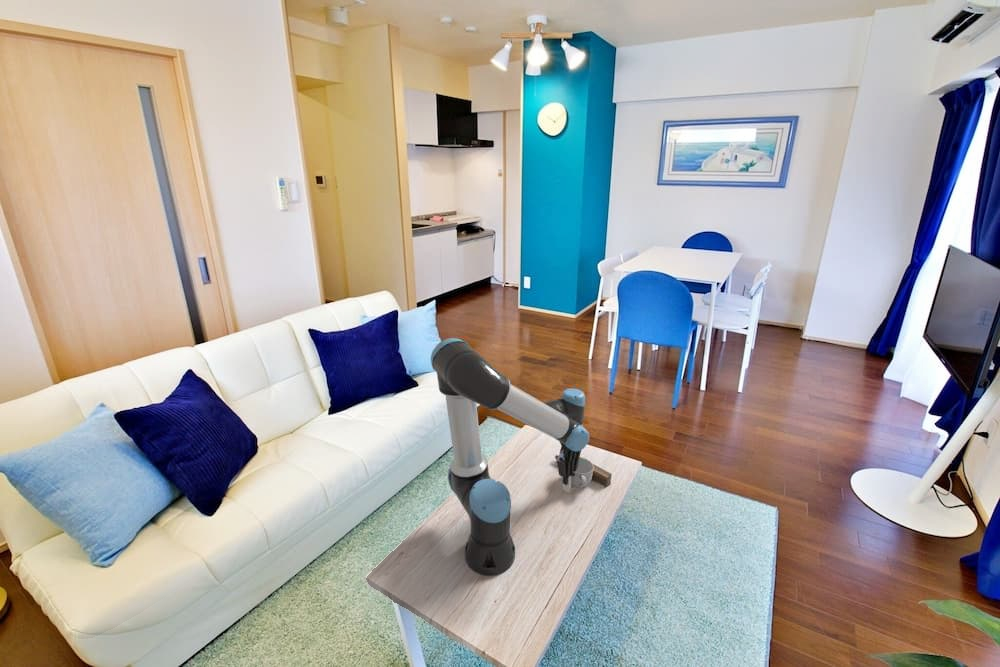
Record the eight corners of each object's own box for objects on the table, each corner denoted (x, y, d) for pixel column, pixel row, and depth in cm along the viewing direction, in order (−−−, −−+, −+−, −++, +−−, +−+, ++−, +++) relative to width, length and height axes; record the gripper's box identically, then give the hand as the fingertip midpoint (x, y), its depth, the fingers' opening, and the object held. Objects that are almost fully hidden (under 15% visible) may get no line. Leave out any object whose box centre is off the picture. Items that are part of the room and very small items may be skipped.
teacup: (562, 472, 179) (563, 454, 176) (591, 474, 178) (593, 456, 175) (563, 496, 166) (564, 477, 163) (593, 499, 165) (595, 480, 162)
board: (605, 487, 171) (606, 477, 169) (559, 461, 186) (559, 451, 184) (610, 484, 173) (611, 473, 171) (563, 458, 188) (564, 448, 186)
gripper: (568, 444, 153) (563, 503, 160) (590, 430, 161) (585, 487, 169) (550, 434, 158) (546, 493, 165) (573, 422, 166) (569, 478, 174)
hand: (566, 490), depth 167 cm, fingers closed
